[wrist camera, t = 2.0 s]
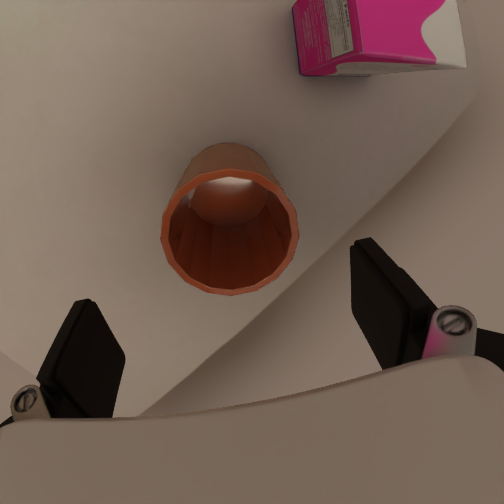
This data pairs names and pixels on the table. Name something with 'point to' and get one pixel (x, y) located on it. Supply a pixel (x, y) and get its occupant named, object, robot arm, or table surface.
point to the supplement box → (377, 36)
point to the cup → (229, 222)
